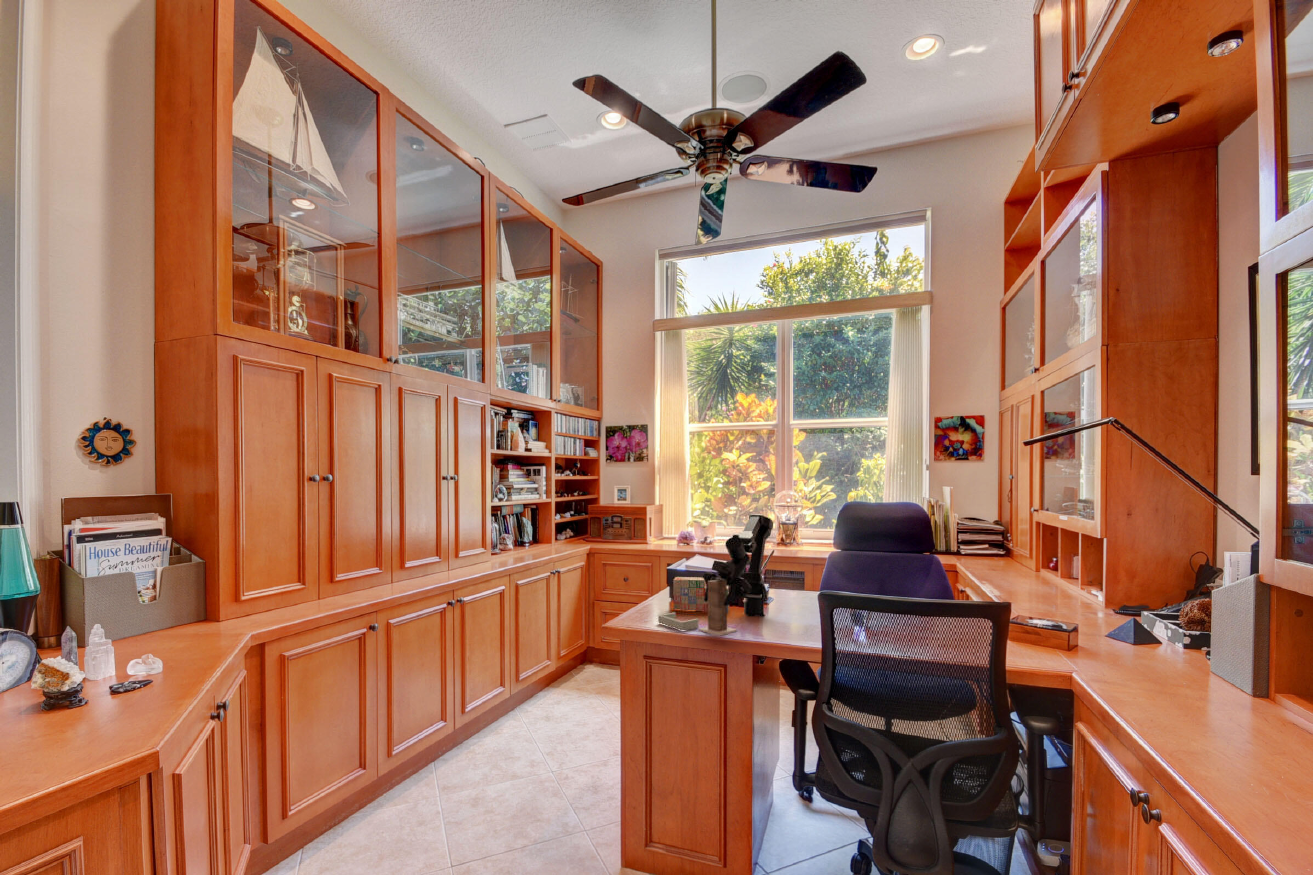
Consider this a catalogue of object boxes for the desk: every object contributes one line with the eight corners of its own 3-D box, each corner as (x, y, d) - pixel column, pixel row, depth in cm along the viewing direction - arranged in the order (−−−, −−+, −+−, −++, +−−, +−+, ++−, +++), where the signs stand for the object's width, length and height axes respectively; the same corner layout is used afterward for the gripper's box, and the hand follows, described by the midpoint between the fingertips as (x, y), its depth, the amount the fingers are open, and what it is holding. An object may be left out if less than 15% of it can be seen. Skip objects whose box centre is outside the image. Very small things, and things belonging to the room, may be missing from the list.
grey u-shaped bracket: (674, 620, 207) (674, 612, 207) (698, 627, 197) (698, 618, 197) (658, 624, 202) (658, 615, 202) (682, 631, 192) (682, 622, 192)
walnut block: (717, 626, 196) (717, 579, 197) (727, 629, 192) (726, 581, 193) (708, 628, 193) (707, 580, 194) (717, 631, 190) (717, 582, 191)
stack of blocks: (729, 609, 224) (729, 578, 225) (728, 613, 218) (727, 580, 219) (675, 607, 229) (675, 576, 229) (673, 611, 222) (672, 579, 223)
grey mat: (717, 626, 199) (717, 624, 199) (736, 631, 192) (736, 629, 192) (698, 630, 193) (698, 628, 193) (717, 636, 186) (717, 634, 186)
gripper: (706, 549, 204) (683, 584, 196) (745, 554, 190) (722, 592, 182) (721, 569, 209) (700, 604, 201) (761, 575, 194) (739, 613, 186)
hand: (714, 603), depth 192 cm, fingers open, 9 cm apart
